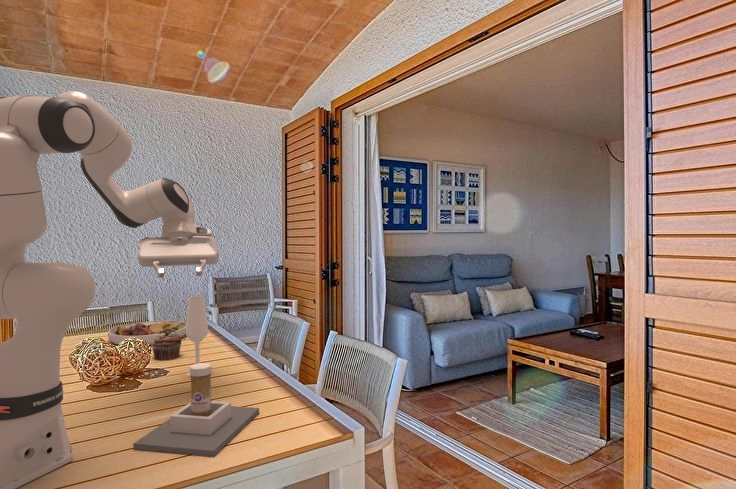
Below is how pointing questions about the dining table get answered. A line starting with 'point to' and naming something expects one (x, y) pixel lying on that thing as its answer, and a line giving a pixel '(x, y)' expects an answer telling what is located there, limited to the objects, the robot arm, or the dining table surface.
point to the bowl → (145, 330)
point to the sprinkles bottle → (200, 389)
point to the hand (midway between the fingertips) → (180, 275)
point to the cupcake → (166, 345)
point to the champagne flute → (196, 323)
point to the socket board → (198, 430)
